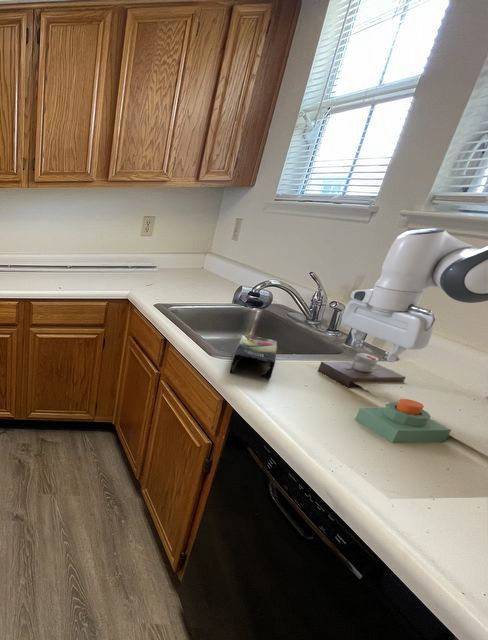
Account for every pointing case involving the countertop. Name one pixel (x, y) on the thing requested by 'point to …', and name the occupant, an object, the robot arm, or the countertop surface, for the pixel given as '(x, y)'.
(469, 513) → the countertop surface
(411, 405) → the orange button cap
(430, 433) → the green stepped block
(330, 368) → the panel
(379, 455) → the countertop surface
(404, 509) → the countertop surface
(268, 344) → the dark boxy piece
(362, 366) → the lock knob
